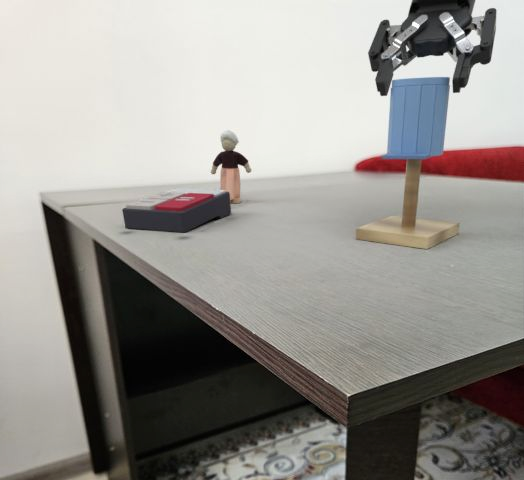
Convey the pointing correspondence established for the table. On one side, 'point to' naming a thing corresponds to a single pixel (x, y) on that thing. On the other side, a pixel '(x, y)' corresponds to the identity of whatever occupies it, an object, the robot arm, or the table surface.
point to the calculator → (177, 209)
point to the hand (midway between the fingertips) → (418, 89)
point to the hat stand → (409, 220)
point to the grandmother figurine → (230, 166)
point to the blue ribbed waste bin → (417, 117)
